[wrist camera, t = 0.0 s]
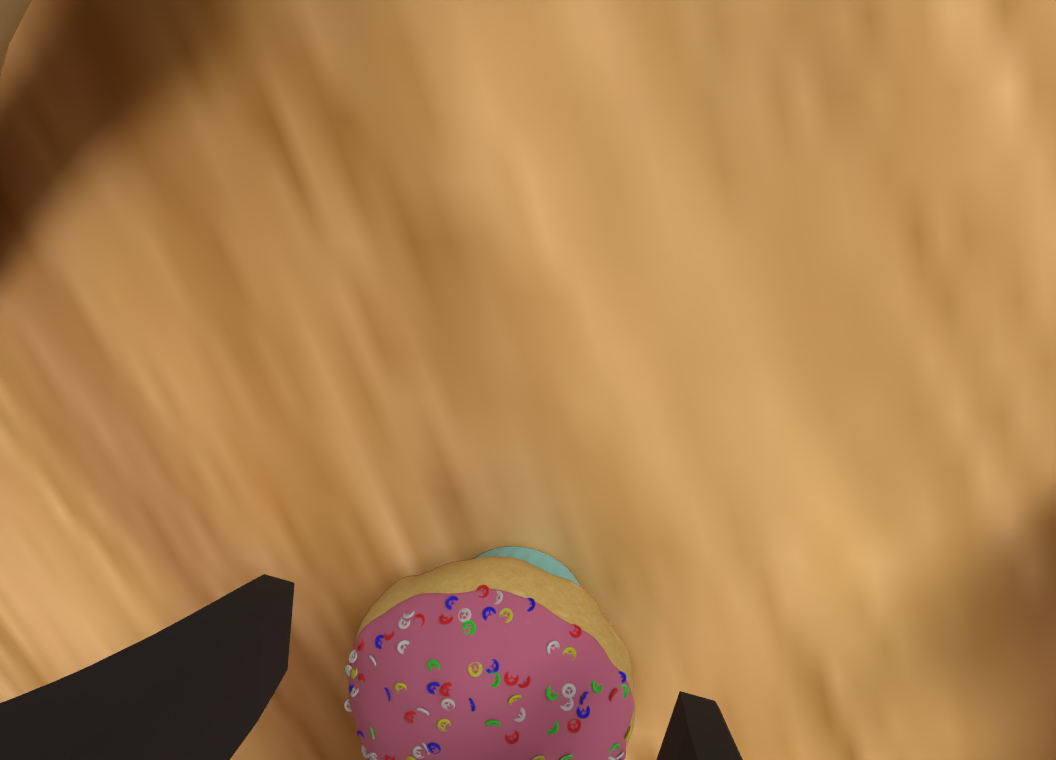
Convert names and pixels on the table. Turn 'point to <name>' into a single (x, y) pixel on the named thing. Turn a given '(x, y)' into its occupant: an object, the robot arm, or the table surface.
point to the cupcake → (491, 666)
